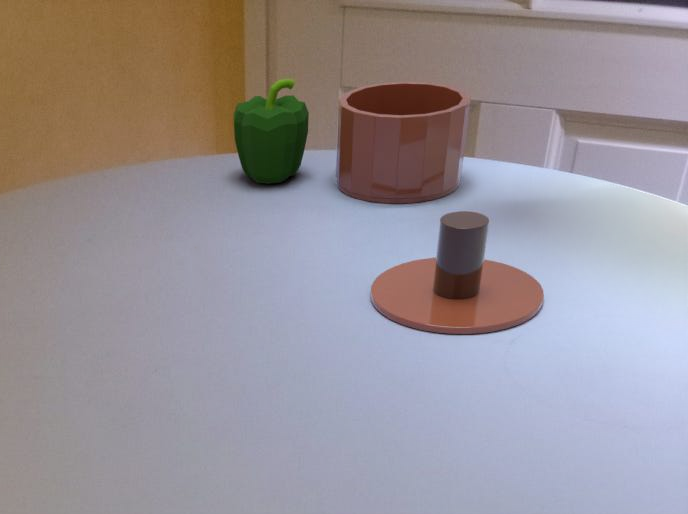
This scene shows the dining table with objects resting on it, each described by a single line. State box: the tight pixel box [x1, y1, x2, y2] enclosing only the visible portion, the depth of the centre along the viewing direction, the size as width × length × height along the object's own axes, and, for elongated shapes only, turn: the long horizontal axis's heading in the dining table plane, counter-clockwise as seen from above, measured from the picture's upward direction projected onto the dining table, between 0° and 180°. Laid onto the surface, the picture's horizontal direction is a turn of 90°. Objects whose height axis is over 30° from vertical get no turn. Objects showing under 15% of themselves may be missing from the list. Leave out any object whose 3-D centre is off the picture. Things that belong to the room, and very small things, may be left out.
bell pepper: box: [233, 78, 310, 185], centre depth 110 cm, size 8×8×10 cm
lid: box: [369, 210, 545, 335], centre depth 84 cm, size 15×15×7 cm
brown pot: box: [335, 80, 472, 204], centre depth 107 cm, size 14×14×8 cm
